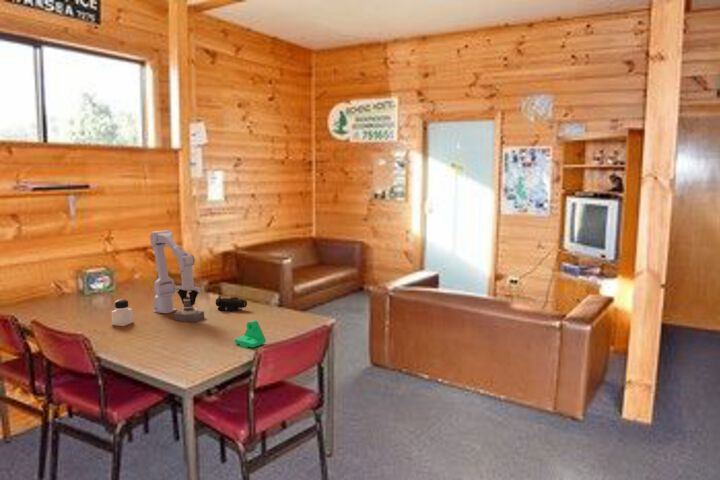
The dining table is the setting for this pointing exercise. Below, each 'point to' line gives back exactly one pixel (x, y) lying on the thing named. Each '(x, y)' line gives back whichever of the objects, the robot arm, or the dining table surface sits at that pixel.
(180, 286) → the robot arm
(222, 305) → the night vision scope
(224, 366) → the dining table surface
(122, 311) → the medicine bottle
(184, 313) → the camera body
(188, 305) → the lens
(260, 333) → the camera mount
